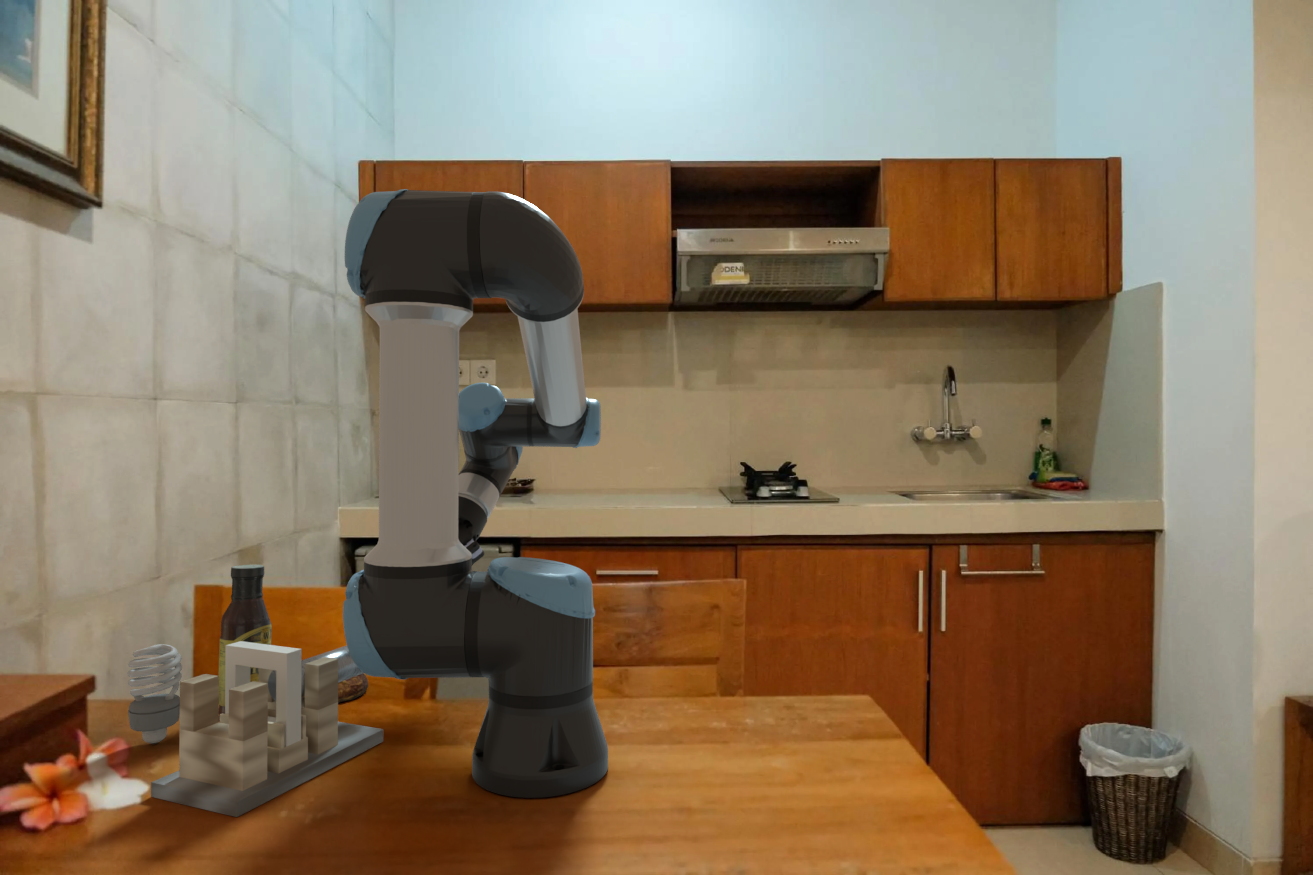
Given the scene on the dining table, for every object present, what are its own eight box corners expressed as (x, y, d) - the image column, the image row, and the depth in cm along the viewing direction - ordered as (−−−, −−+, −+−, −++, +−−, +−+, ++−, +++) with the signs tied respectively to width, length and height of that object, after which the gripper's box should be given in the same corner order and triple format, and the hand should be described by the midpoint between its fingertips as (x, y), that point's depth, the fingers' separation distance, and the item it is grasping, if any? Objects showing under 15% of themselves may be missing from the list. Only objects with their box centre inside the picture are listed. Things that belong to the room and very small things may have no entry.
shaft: (356, 668, 104) (356, 635, 104) (383, 672, 103) (383, 638, 103) (266, 702, 91) (266, 664, 91) (295, 707, 89) (296, 668, 89)
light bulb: (186, 733, 99) (187, 637, 99) (175, 749, 94) (175, 648, 94) (134, 738, 98) (135, 641, 98) (120, 755, 92) (120, 652, 92)
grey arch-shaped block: (300, 739, 87) (301, 648, 87) (286, 746, 85) (287, 653, 85) (240, 728, 90) (240, 640, 90) (224, 734, 88) (225, 645, 88)
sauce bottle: (247, 723, 103) (248, 571, 103) (206, 720, 104) (207, 569, 104) (281, 707, 109) (282, 563, 109) (241, 703, 111) (242, 561, 111)
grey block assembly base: (383, 741, 97) (383, 647, 97) (236, 817, 78) (237, 699, 78) (307, 728, 101) (308, 638, 101) (150, 796, 82) (151, 685, 82)
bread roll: (384, 685, 119) (380, 653, 119) (339, 720, 109) (334, 685, 108) (320, 682, 122) (316, 651, 121) (269, 716, 111) (265, 682, 111)
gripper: (511, 526, 124) (445, 660, 108) (442, 522, 129) (369, 650, 113) (492, 494, 119) (420, 630, 103) (421, 492, 124) (342, 621, 108)
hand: (393, 640), depth 108 cm, fingers closed
